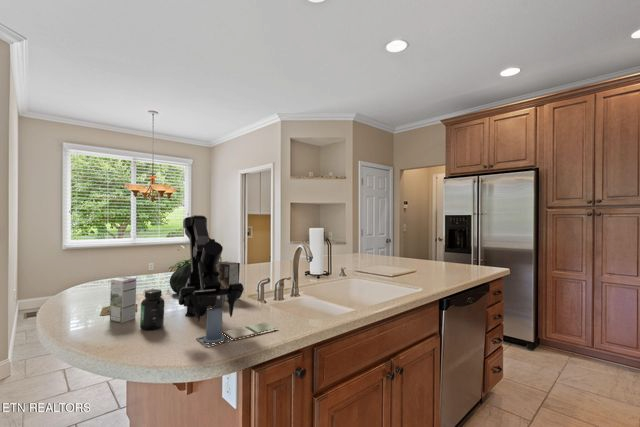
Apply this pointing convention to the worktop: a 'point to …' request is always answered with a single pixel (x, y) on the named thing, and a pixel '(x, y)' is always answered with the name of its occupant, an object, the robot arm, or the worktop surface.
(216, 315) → the blue flanged cylinder
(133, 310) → the syrup box
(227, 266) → the coffee box
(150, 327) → the supplement bottle
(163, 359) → the worktop surface
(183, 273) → the squash
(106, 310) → the cookie
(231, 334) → the game board
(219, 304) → the die
